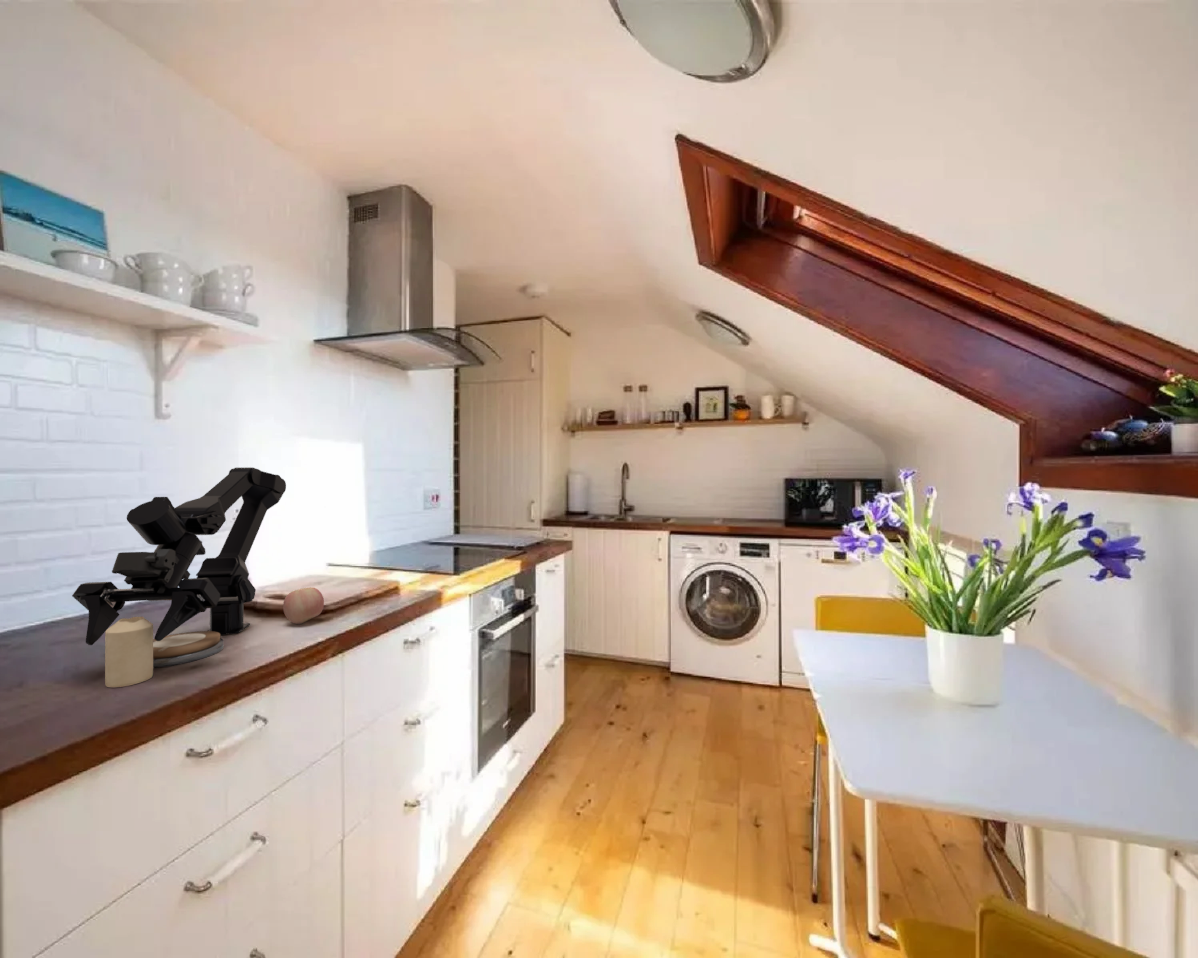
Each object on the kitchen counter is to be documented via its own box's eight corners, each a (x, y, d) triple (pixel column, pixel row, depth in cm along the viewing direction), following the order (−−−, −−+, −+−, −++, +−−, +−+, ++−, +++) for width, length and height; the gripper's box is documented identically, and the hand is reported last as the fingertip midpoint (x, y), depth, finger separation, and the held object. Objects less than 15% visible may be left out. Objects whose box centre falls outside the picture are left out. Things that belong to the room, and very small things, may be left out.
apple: (327, 616, 114) (327, 583, 114) (319, 625, 106) (319, 589, 106) (288, 620, 111) (288, 585, 111) (277, 629, 104) (277, 592, 104)
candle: (122, 689, 74) (123, 624, 74) (95, 686, 75) (95, 622, 75) (162, 675, 79) (162, 614, 79) (135, 672, 80) (135, 613, 80)
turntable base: (157, 646, 93) (157, 640, 93) (235, 639, 97) (235, 634, 97) (111, 671, 81) (111, 664, 81) (202, 663, 85) (202, 656, 85)
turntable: (159, 639, 93) (159, 633, 93) (231, 634, 96) (231, 627, 96) (116, 661, 82) (116, 654, 82) (200, 654, 85) (200, 647, 85)
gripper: (82, 534, 79) (15, 619, 68) (210, 531, 83) (166, 611, 72) (119, 573, 87) (64, 655, 76) (235, 568, 91) (199, 646, 80)
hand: (123, 641), depth 76 cm, fingers open, 9 cm apart
